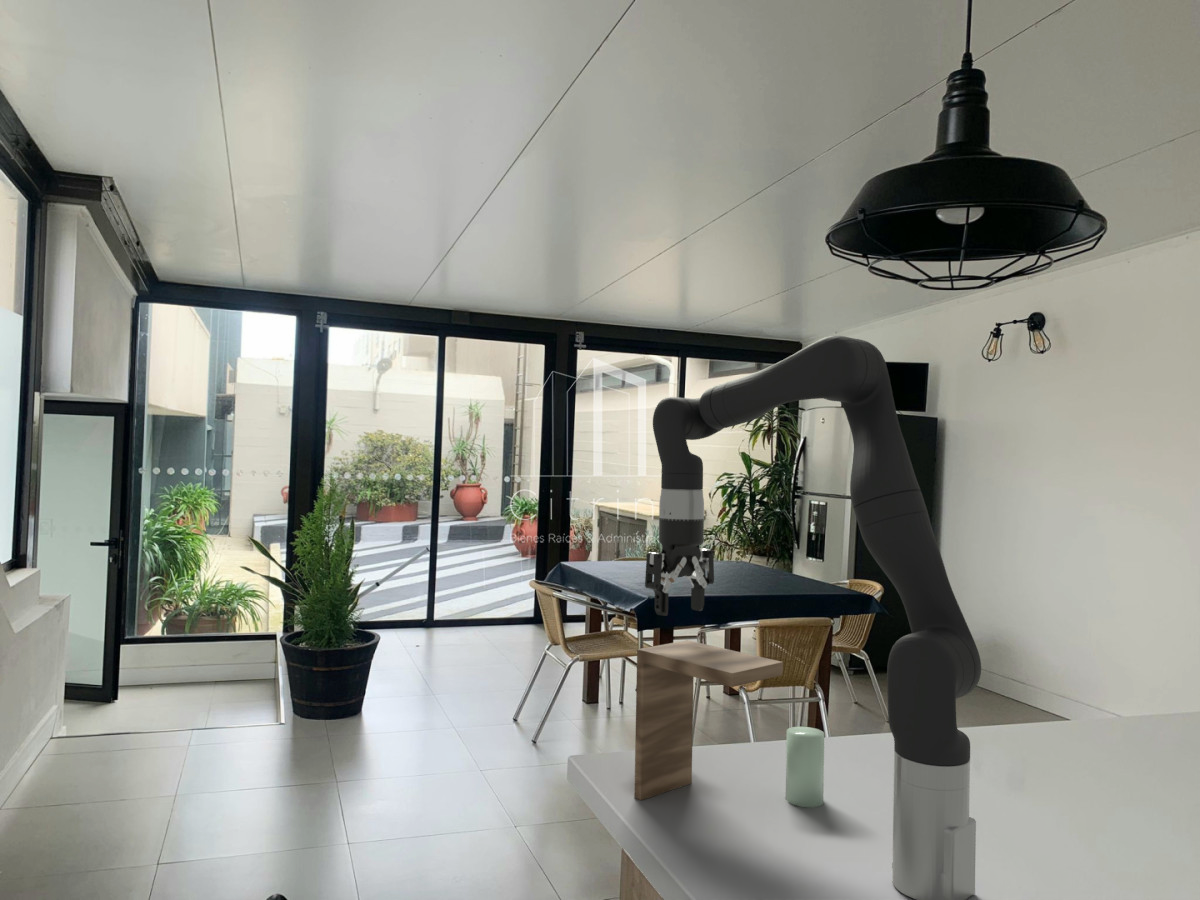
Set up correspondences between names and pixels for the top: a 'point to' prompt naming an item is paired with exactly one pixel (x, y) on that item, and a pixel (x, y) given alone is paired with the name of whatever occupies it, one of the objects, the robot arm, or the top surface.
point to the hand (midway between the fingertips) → (679, 612)
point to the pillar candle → (805, 766)
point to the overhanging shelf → (680, 706)
